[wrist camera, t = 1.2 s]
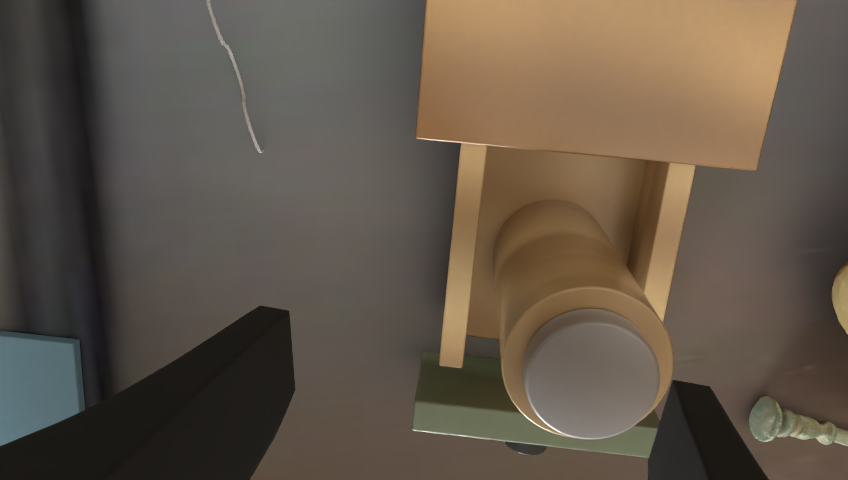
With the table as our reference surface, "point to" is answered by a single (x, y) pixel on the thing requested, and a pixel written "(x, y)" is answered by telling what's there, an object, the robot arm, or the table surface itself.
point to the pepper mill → (575, 325)
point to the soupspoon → (790, 424)
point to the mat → (37, 382)
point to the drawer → (475, 281)
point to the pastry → (841, 296)
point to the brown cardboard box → (605, 76)
